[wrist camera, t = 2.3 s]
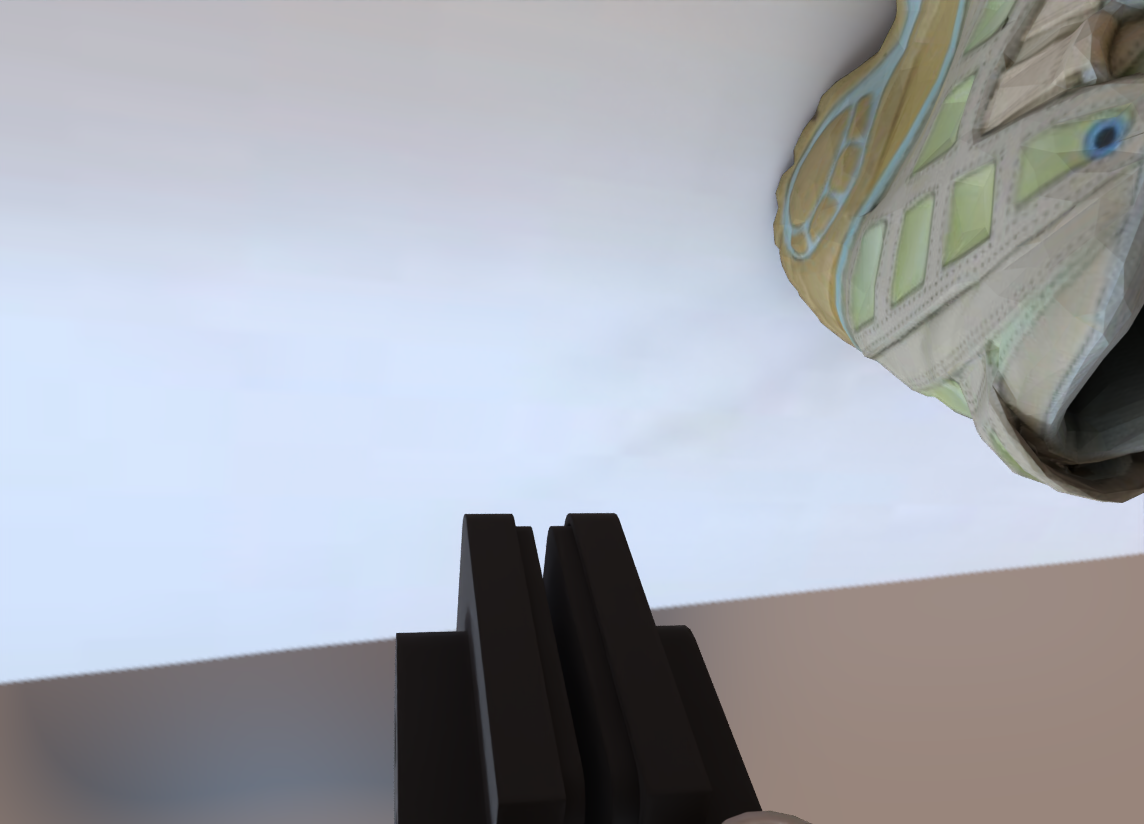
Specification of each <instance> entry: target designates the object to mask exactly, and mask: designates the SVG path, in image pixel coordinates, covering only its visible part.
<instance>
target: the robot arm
mask: <svg viewBox="0 0 1144 824" xmlns="http://www.w3.org/2000/svg"><path fill="white" fill-rule="evenodd" d="M395 656H396V657H395V658H396V659H395V708H394V709H395V710H394V824H811V823H809V822H807V821H804V820H802V819H800V818H798V817H796V816H793V815H787V814H783V813H778V812H773V811H762V809H761V806H760V804H759V801H758V799H757V796H756V793H755V791H754V788H753V786H752V783H751V781H750V778H749V776H748V773H747V771H746V768H745V765H744V763H743V760H742V757H741V755H740V752H739V750H738V747H737V745H736V742H735V740H734V737H733V735H732V732H731V729H730V727H729V724H728V722H727V719H726V716H725V714H724V711H723V709H722V706H721V704H720V701H719V699H718V696H717V694H716V691H715V688H714V686H713V683H712V681H711V678H710V676H709V673H708V670H707V668H706V665H705V663H704V660H703V657H702V655H701V652H700V650H699V647H698V645H697V642H696V640H695V637H694V636H693V634H692V632H691V630H690V629H689V628H688V627H687V626H685V625H678V626H656V625H655V622H654V619H653V616H652V613H651V610H650V608H649V605H648V602H647V599H646V596H645V593H644V590H643V587H642V584H641V581H640V579H639V576H638V573H637V570H636V567H635V564H634V561H633V558H632V555H631V552H630V550H629V547H628V544H627V541H626V538H625V535H624V532H623V529H622V526H621V523H620V521H619V518H618V516H617V515H616V514H615V513H569V514H568V515H567V517H566V520H565V525H564V526H550V528H549V531H548V536H547V545H546V554H545V564H544V573H543V578H542V573H541V568H540V563H539V559H538V554H537V549H536V544H535V540H534V535H533V530H532V527H531V526H515V520H514V517H513V515H512V514H464V518H463V527H462V543H461V560H460V578H459V595H458V613H457V630H456V631H455V632H419V633H396V655H395Z"/></svg>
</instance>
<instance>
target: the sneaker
mask: <svg viewBox="0 0 1144 824" xmlns="http://www.w3.org/2000/svg"><path fill="white" fill-rule="evenodd" d="M896 4H897V13H896V18H895V21H894V23H893V25H892V27H891V28H890V30H889V32H888V34H887V36H886V38H885V40H884V42H883V44H882V46H881V48H880V50H879V52H877V53H876V54H875V55H873V56H872V57H871V58H870V59H868V60H867V61H866V62H864V63H863V64H862V65H861V66H859V67H858V68H857V69H855V70H854V71H852V72H851V73H849V74H848V75H846V76H845V77H843V78H842V79H840V80H839V81H837V82H836V83H835V84H834V85H833V86H832V87H831V88H830V89H829V90H828V91H827V92H826V93H825V94H824V95H823V96H822V97H821V100H820V102H819V105H818V108H817V111H816V113H815V115H814V117H813V118H812V119H811V121H810V122H809V123H808V124H807V126H806V127H805V128H804V130H803V131H802V134H801V136H800V138H799V140H798V142H797V144H796V146H795V148H794V165H793V166H792V167H790V168H789V169H788V170H787V171H786V172H785V173H784V174H783V175H782V177H781V180H780V183H779V185H778V188H777V191H776V198H777V203H778V211H777V214H776V217H775V221H774V224H773V228H774V240H775V244H776V246H777V247H778V248H779V249H780V252H779V253H780V258H781V263H782V267H783V269H784V271H785V273H786V275H787V277H788V279H789V281H790V282H791V283H792V285H793V286H794V287H795V288H796V290H797V291H798V293H799V296H800V297H801V298H802V299H803V300H804V302H805V303H806V304H807V305H808V306H809V307H810V309H811V310H812V311H813V312H814V313H815V315H816V316H817V317H818V318H819V320H820V322H821V323H822V324H823V325H825V326H826V327H827V328H828V329H830V330H831V331H832V332H833V333H835V334H836V335H837V336H838V337H840V338H841V339H842V340H843V341H845V342H846V343H848V344H850V345H852V346H853V347H855V348H857V349H858V350H860V351H861V352H862V353H863V355H864V356H865V357H867V358H870V359H873V360H875V361H877V362H878V363H880V364H881V365H882V366H884V367H885V368H886V369H887V370H888V371H890V372H891V373H892V374H893V375H894V376H896V377H897V378H898V379H899V380H901V381H902V382H903V383H904V384H906V385H907V386H908V387H909V388H911V389H912V390H914V391H916V392H918V393H921V394H923V395H925V396H930V397H936V398H937V399H938V400H940V401H941V402H942V403H944V404H945V405H946V406H948V407H949V408H950V409H952V410H953V411H954V412H956V413H959V414H961V415H963V416H966V417H968V418H970V419H973V421H974V424H975V427H976V430H977V432H978V433H979V435H980V437H981V439H982V440H983V441H984V442H985V443H986V444H987V445H988V446H989V447H990V448H991V449H992V450H993V451H994V452H995V453H996V455H997V456H998V457H999V458H1000V459H1001V460H1002V461H1003V462H1004V463H1005V464H1006V465H1007V466H1008V467H1009V468H1010V469H1011V470H1012V472H1013V473H1016V474H1018V475H1021V476H1023V477H1026V478H1029V479H1032V480H1035V481H1038V482H1041V483H1044V484H1047V485H1048V486H1050V487H1051V488H1053V489H1055V490H1056V491H1058V492H1062V493H1066V494H1071V495H1075V496H1079V497H1083V498H1088V499H1092V500H1096V501H1101V502H1116V503H1123V502H1126V501H1128V500H1130V499H1132V498H1134V497H1136V496H1138V495H1140V494H1142V493H1144V0H896Z"/></svg>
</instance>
